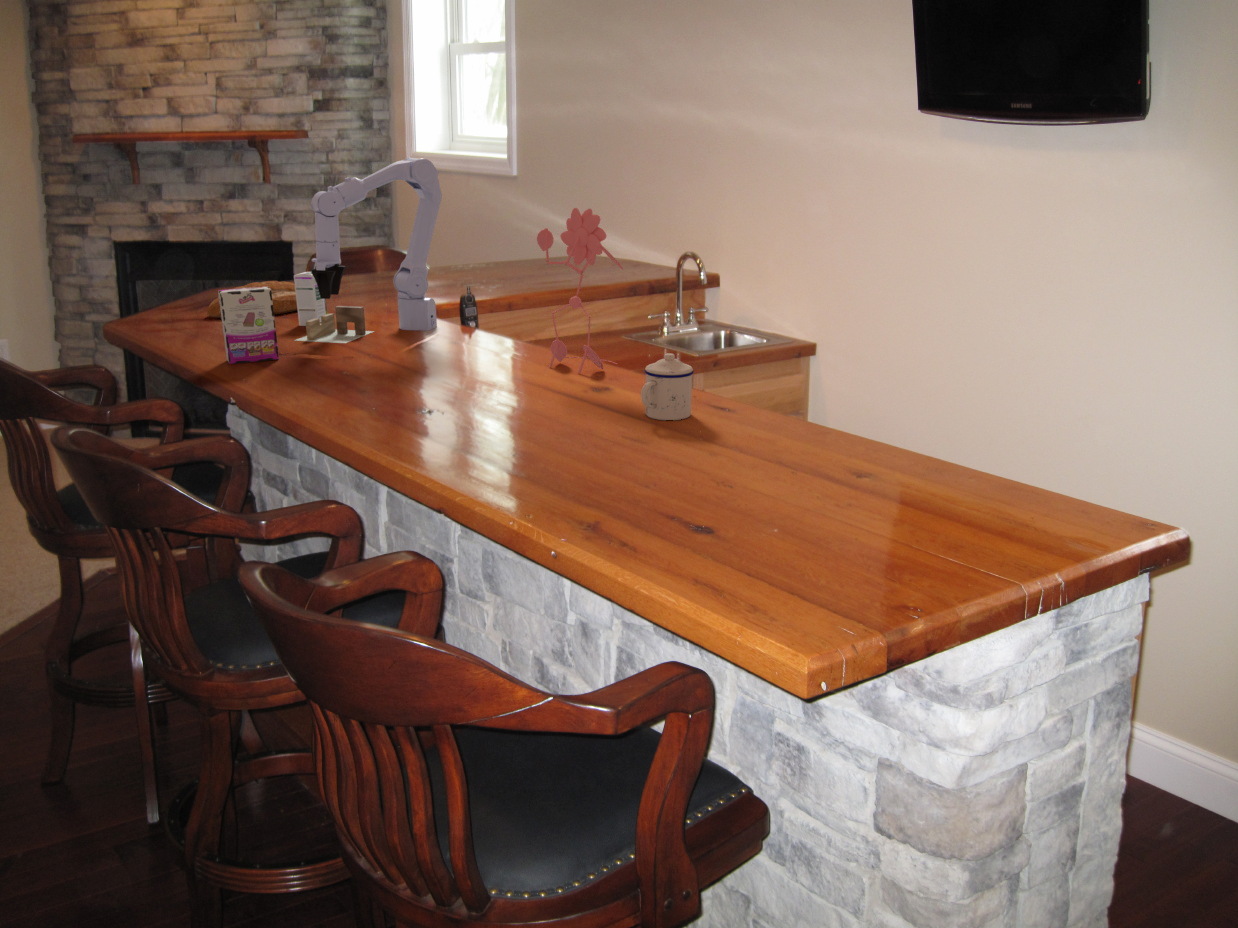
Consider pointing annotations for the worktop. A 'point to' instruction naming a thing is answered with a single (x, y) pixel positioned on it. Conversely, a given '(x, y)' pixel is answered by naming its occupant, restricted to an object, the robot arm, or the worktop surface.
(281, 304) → the bread
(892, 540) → the worktop surface
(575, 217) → the figurine
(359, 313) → the wooden c-clamp shape
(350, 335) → the board
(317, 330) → the wooden u-shaped block
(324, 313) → the syrup box
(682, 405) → the teacup with lid
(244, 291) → the candy bar box
